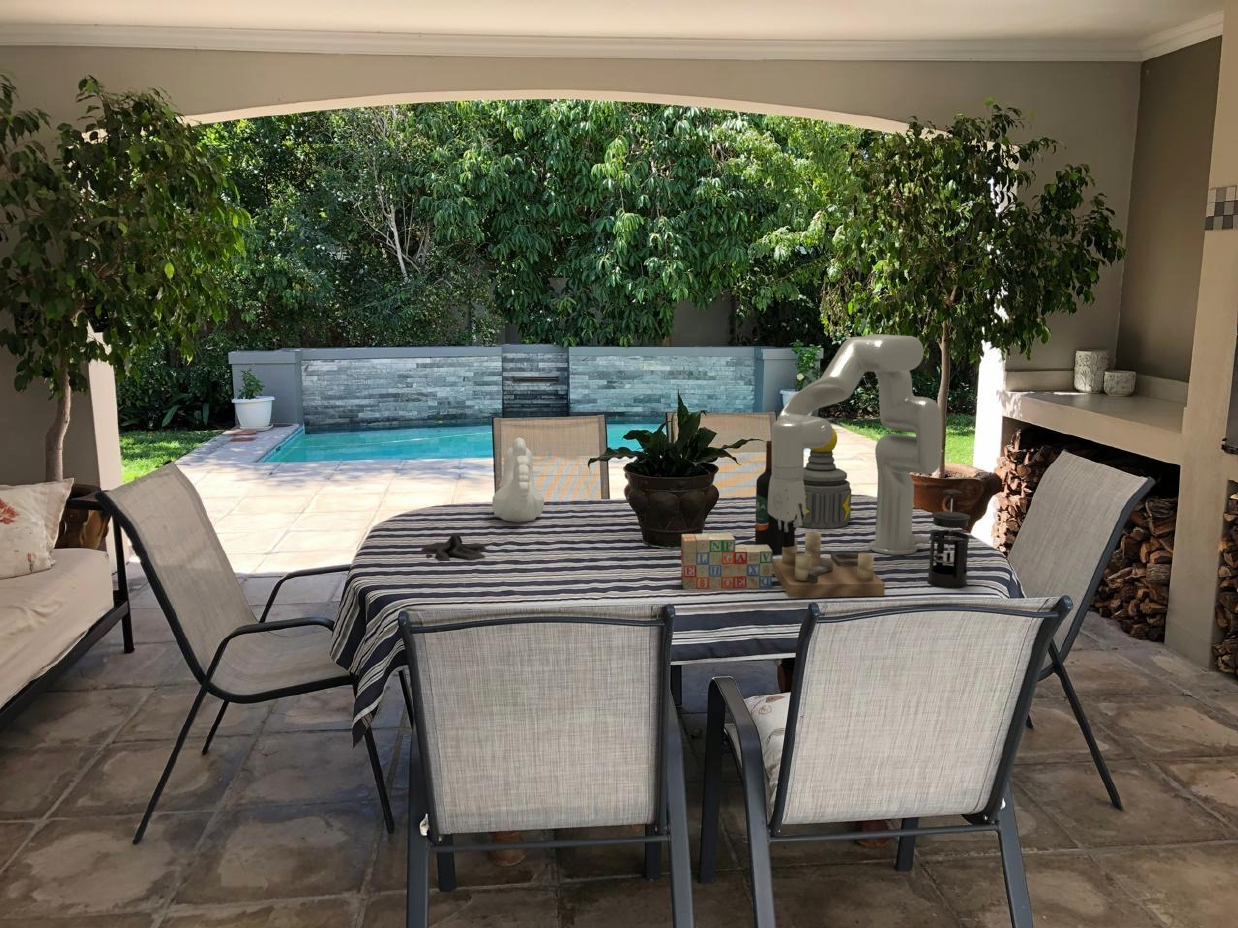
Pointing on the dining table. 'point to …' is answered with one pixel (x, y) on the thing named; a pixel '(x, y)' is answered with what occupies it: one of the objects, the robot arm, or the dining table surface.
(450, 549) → the cloth
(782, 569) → the wooden peg board
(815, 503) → the decorative lamp
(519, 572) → the dining table surface
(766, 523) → the wine bottle
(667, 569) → the dining table surface
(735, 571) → the stack of blocks
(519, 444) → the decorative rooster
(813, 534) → the loose leg
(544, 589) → the dining table surface
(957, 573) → the french press
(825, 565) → the hinged leg
